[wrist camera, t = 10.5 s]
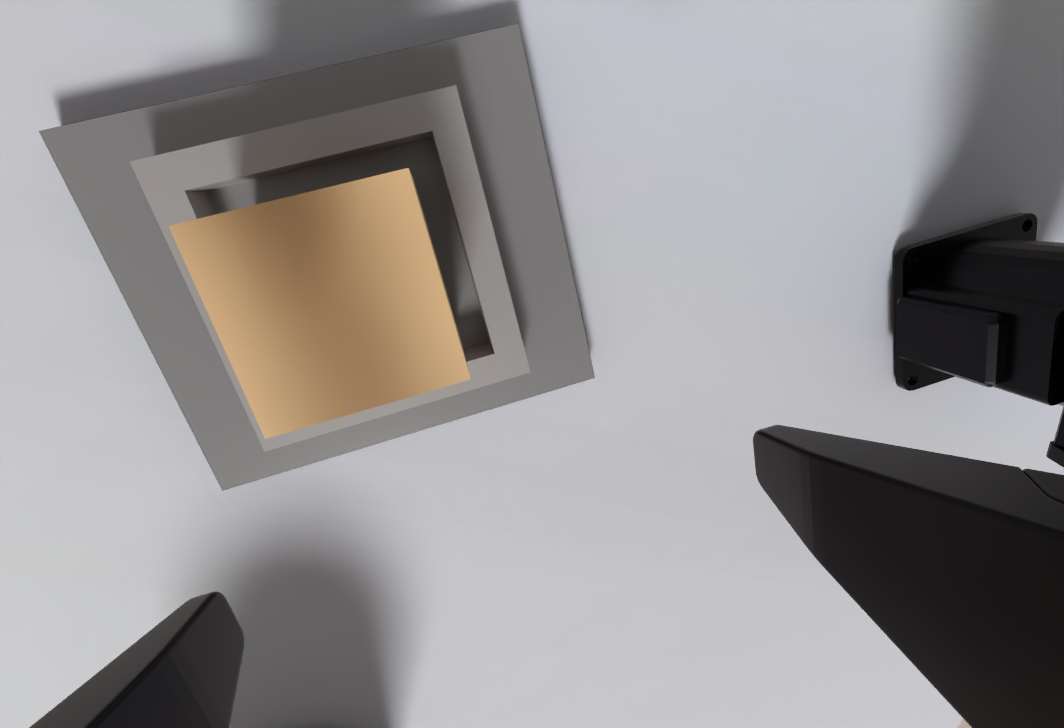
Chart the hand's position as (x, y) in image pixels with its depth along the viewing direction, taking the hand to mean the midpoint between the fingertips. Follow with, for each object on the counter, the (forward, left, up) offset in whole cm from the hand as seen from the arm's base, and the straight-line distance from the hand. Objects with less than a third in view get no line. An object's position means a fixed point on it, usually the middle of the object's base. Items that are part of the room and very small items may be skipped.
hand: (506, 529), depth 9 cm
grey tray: (+2, -4, -12) cm, 13 cm away
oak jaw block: (+2, -4, -11) cm, 12 cm away
